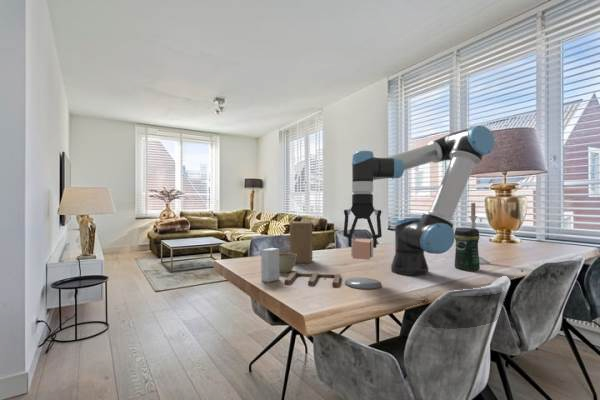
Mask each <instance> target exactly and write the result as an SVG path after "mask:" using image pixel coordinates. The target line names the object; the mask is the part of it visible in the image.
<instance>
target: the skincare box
mask: <svg viewBox="0 0 600 400" xmlns="http://www.w3.org/2000/svg"><path fill="white" fill-rule="evenodd" d="M260 252H261V254H260V255H261V259H260V260H261V262H260V263H261V269H260V270H261V271H260V272H261V273H260V274H261V275H260V276H261V277H260V279H261V281H262V282H266V283H270V282H273V281H277V280H279V279H280V271H279V253H280V248H276V247H269V248H268V247H267V248H264V249H261V250H260Z"/></svg>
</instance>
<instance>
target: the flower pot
mask: <svg viewBox="0 0 600 400" xmlns="http://www.w3.org/2000/svg"><path fill="white" fill-rule="evenodd" d="M296 258H297V254H294V253H290V252H279V273H290V272H292V270H293V268H294V266H295V264H296V263H295V262H296Z"/></svg>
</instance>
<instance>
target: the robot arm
mask: <svg viewBox="0 0 600 400" xmlns="http://www.w3.org/2000/svg"><path fill="white" fill-rule="evenodd" d="M495 146H496V145H495V136H494V135H493V132H492V131H491V129H489V127H487V126H484V125H475V126H474V125H473V126H470V127H469V128H465V129H461V130H458V131H454V132H451V133H449V134H447V135H444V136H442V137H440V138H438V139H435V140H432V141H430V142H428V143H427V144H426V145H423V146H419V147H417V148H413V149H409V150H406V151H404V152H400V153H396V154H394V155H390V156H386V157H375V156H374V152H373V151H370V150H357V151H355V152H353V153H352V160H351V161H352V163H351V165H352V166H351V167H352V174H351V175H352V176H351V177H352V182H351V185H352V186H351V192H352V193H353V194H352V195H351V207H350V208H348V209H344V210H343V214H344V223H343V224H344V225H343V236H344V237H346V238H347V240H348V242H347V243H348V244H347V246H348V247H349V248H351V249H350V250H351V254H350V255H351V257H352V258H353V241H354V240H355V239H354V238H355V237H353V235H354V231H355V229H356V225H357V223H358V220H362V219H363V220H367V223H368V228H369V230H370V232H371V235H372V237H371V238H370V239H371V258H374V249H376V248H377V243H378V242H377V240H378V239H379V238H382V236H383V235H382V223H381V222H382V221H381V215H382V210H381V209H375V207H374V195H373V194H372V193H373V192H374V181H375V180H384V179H392V180H393V179H401V177H402V176H403V175H404V172H405V171H406V170H410V169H413V168H417V167H419V166H422V165H423V166H424V165H425V164H429V163H434V164H437V163H439V162H440V163H441V162H444V161H450V162H449V165H448V166H447V169H446V172H445V173H444V176H443V178H442V180H441V183H440V185H439V187H438V189H437V191H436V194H435V196H434V198H433V201H432V203H431V205H430V207H429V210H427V212H423V214H422V215H421V217H405V218H398V219H396V220H395V225H394V231H395V233H394V235H395V238H394V239H395V240H394V241H395V242H394V243H395V244H394V245H395V246H394V247H395V253H394V256H393V259H392V263H391V265H390V266H391V267H390V268H391V269H390V270H391V272H392V273H395V274H399V275H405V276H426V275H428V274H429V266H428V262H427V260H426V256H425V253H427V254H433V255H434V254H435V255H441V254H444V253H446V252H448V251H449V250H451V248H452V246H453V244H454V242H455V236H454V235H455V230H453V227H454V223H453V221H452V220H453V219H452V218H453V216H454V214H455V212H456V209H457V207H458V205H459V202H460V199H461V198H462V195H463V194H464V193H463V192H464V191H465V188H466V187H467V183H468V181H469V180H470V176H471V174H472V171H473V169H474V167H476V166H478V165H480V164H481V163H482V160H483V158H484V156H486V155H489V154H490V153H491V152H493V150H494V148H495ZM351 213H352V215H353V216H354V219H353V222H352V225H351V228H350V231H349V233H348V225H349V216H350V214H351ZM373 213H374V215H375V216H376V227H377V228H376V229H377V234H376V232H375V228H374V225H373V223H372V219H371V215H373Z"/></svg>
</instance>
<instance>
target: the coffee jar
mask: <svg viewBox="0 0 600 400" xmlns="http://www.w3.org/2000/svg"><path fill="white" fill-rule="evenodd" d="M454 236H455V239H454V241H455V254H454V255H455V256H454V268H456V269H458V270H462V271H468V272H469V271H472V272H476V271H479V270H480V269H481V267H480V266H481V264H480V263H479V257H480V256H479V240H480V232H479V230H478V229H477V228H476V229H473V228H471V227H456V228H455V229H454Z"/></svg>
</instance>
